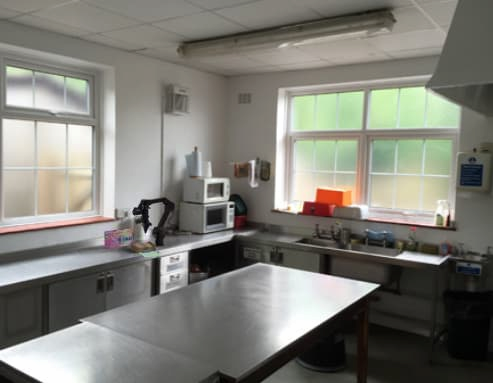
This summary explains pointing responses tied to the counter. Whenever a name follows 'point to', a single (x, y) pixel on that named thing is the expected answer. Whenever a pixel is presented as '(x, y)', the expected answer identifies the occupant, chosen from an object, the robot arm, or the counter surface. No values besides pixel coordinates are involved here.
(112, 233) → the gum box
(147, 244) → the box
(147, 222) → the robot arm
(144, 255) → the lid
